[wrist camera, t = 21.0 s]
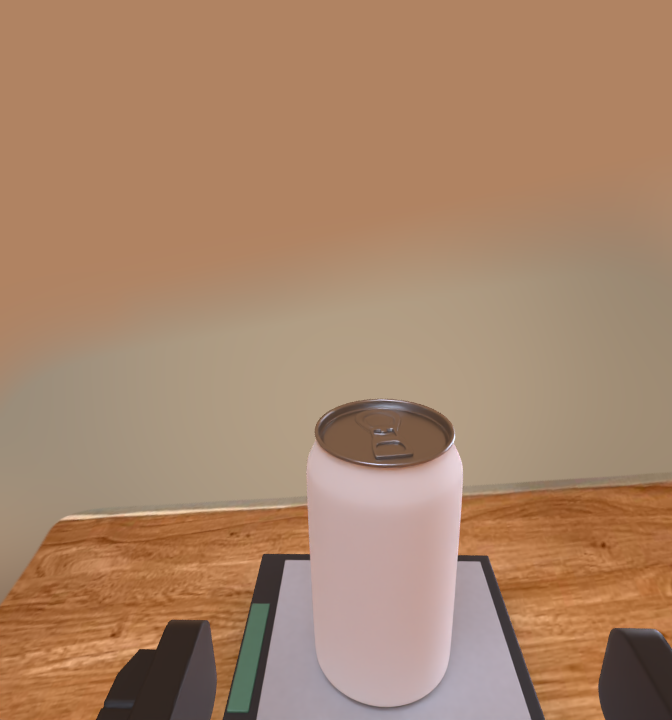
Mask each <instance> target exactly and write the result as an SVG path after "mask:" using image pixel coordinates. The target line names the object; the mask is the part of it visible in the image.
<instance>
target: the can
mask: <svg viewBox="0 0 672 720" xmlns="http://www.w3.org/2000/svg"><path fill="white" fill-rule="evenodd" d="M315 437H316V441H315V443H314V445H313V447H312V449H311V451H310V454H309V457H308V460H307V499H308V521H309V542H310V562H311V582H312V601H313V619H314V635H315V648H316V654H317V659H318V662H319V665H320V667H321V669H322V671H323V673H324V674H325V676H326V677H327V679H328V680H329V681H330V682H331V683H332V684H333V685H334V686H335V687H336V688H337V689H338V690H339V691H340V692H342V693H343V694H345V695H346V696H348V697H350V698H352V699H354V700H356V701H358V702H361V703H364V704H367V705H372V706H378V707H395V706H402V705H406V704H409V703H412V702H415V701H417V700H419V699H421V698H423V697H424V696H426V695H427V694H429V693H430V692H431V691H432V690H433V689H434V688H435V687H436V686H437V685H438V684H439V682H440V681H441V680H442V678H443V676H444V674H445V672H446V669H447V666H448V662H449V657H450V647H451V636H452V624H453V612H454V599H455V586H456V572H457V559H458V545H459V531H460V517H461V502H462V486H463V484H462V483H463V467H462V462H461V459H460V457H459V453H458V451H457V449H456V447H455V445H454V443H453V442H454V439H455V430H454V427H453V425H452V424H451V422H450V421H449V420H448V419H447V418H446V417H445V416H444V415H442V414H441V413H439V412H437V411H436V410H434V409H432V408H429V407H427V406H424V405H421V404H417V403H413V402H408V401H402V400H394V399H369V400H362V401H356V402H351V403H347V404H344V405H341V406H338V407H336V408H334V409H332V410H330V411H329V412H327V413H326V414H324V415H323V416H322V417H321V418H320V419H319V421H318V422H317V424H316V427H315Z"/></svg>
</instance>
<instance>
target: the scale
mask: <svg viewBox="0 0 672 720" xmlns="http://www.w3.org/2000/svg"><path fill="white" fill-rule="evenodd" d="M223 720H545V718H544V715H543V712H542V709H541V707H540V704H539V701H538V698H537V695H536V692H535V689H534V686H533V684H532V681H531V678H530V675H529V672H528V669H527V666H526V664H525V661H524V658H523V655H522V652H521V649H520V646H519V644H518V641H517V638H516V635H515V632H514V629H513V626H512V623H511V621H510V618H509V615H508V612H507V609H506V606H505V603H504V601H503V598H502V595H501V592H500V589H499V586H498V583H497V581H496V578H495V575H494V572H493V569H492V566H491V563H490V561H489V558H488V556H469V555H458V559H457V572H456V586H455V599H454V612H453V624H452V636H451V647H450V657H449V662H448V666H447V669H446V672H445V674H444V676H443V678H442V680H441V681H440V682H439V684H438V685H437V686H436V687H435V688H434V689H433V690H432V691H431V692H430V693H429V694H427V695H426V696H424V697H423V698H421V699H419V700H417V701H415V702H412V703H409V704H406V705H402V706H395V707H378V706H372V705H367V704H364V703H361V702H358V701H356V700H354V699H352V698H350V697H348V696H346V695H345V694H343V693H342V692H340V691H339V690H338V689H337V688H336V687H335V686H334V685H333V684H332V683H331V682H330V681H329V680H328V679H327V677H326V676H325V674H324V673H323V671H322V669H321V667H320V665H319V662H318V659H317V654H316V648H315V635H314V619H313V601H312V582H311V562H310V554H263V557H262V561H261V565H260V569H259V573H258V577H257V581H256V585H255V589H254V594H253V598H252V602H251V606H250V610H249V614H248V618H247V622H246V626H245V631H244V635H243V639H242V643H241V647H240V651H239V655H238V659H237V663H236V668H235V672H234V676H233V680H232V684H231V688H230V692H229V696H228V700H227V705H226V709H225V713H224V717H223Z"/></svg>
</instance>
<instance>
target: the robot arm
mask: <svg viewBox="0 0 672 720" xmlns="http://www.w3.org/2000/svg"><path fill="white" fill-rule="evenodd" d="M216 683H217V675H216V666H215V659H214V651H213V644H212V637H211V630H210V624H209V622H208V621H207V620H171V621H169V623H168V624H167V626H166V628H165V630H164V632H163V635H162V637H161V640H160V642H159V644H158V647H157V649H156V650H149V649H140V650H139V651H138V652H137V653H136V654H135V655H134V656H133V657H132V658H131V660H130V661H129V662H128V663H127V664H126V665H125V666H124V667H123V668H122V670H121V671H120V672H119V673H118V674H117V676H116V679H115V681H114V683H113V685H112V687H111V689H110V691H109V693H108V695H107V698H106V700H105V702H104V707H103V708H101V710H100V712H99V715H98V717H97V719H96V720H210V718H211V714H212V710H213V706H214V701H215V694H216ZM598 689H599V699H600V704H601V708H602V711H603V714H604V717H605V720H672V648H671V647H670V645H669V644H668V643H667V641H666V640H665V638H664V637H663V635H662V634H661V633H660V632H658V631H657V630H655V629H635V628H614V629H612V630H611V632H610V635H609V639H608V643H607V648H606V652H605V656H604V661H603V665H602V669H601V674H600V678H599V685H598Z"/></svg>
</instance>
